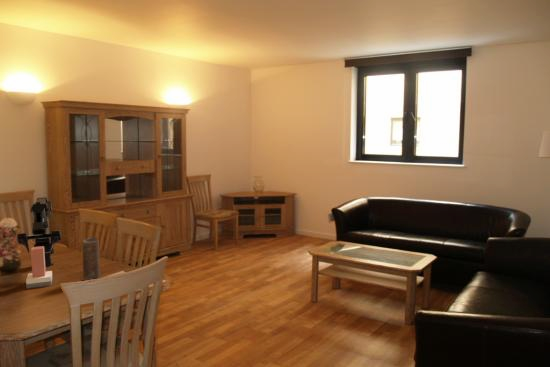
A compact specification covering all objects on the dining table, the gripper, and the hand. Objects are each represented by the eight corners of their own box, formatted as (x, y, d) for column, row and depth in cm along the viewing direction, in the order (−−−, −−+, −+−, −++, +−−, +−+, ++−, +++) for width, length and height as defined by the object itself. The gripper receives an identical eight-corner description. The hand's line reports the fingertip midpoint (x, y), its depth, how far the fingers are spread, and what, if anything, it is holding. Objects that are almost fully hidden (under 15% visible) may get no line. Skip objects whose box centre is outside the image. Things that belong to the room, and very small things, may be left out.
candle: (103, 278, 216) (101, 237, 214) (92, 283, 209) (90, 241, 207) (90, 277, 219) (88, 236, 216) (79, 281, 212) (77, 240, 209)
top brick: (33, 274, 210) (32, 247, 209) (45, 273, 212) (44, 246, 211) (32, 277, 206) (30, 249, 204) (44, 276, 208) (43, 248, 206)
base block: (28, 281, 212) (28, 273, 212) (52, 278, 216) (52, 270, 215) (26, 288, 203) (26, 279, 202) (51, 285, 207) (50, 276, 206)
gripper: (16, 216, 213) (14, 245, 205) (59, 213, 221) (59, 240, 212) (19, 229, 222) (17, 257, 213) (61, 226, 229) (61, 253, 220)
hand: (39, 251), depth 214 cm, fingers open, 9 cm apart
